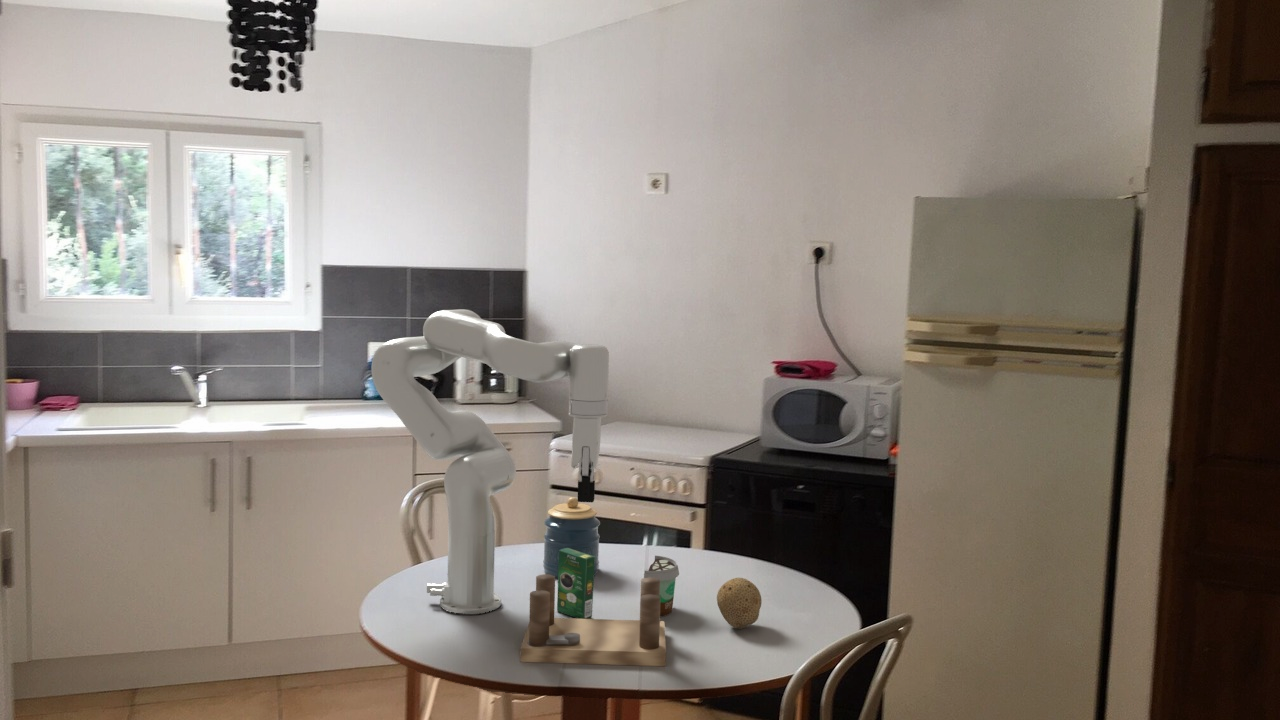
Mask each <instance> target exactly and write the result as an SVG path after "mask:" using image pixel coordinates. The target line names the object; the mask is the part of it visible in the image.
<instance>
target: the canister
mask: <svg viewBox="0 0 1280 720" xmlns="http://www.w3.org/2000/svg"><path fill="white" fill-rule="evenodd" d="M597 513H598V512H597V510H595V509H594V508H592V507H591V506H590V505H588V504H585V503H582V502H578V497H577V498H576V497H574V496H572V497H569V498H568V499H567V501H566V502H564V503H559V504H558V503H557V504H556V505H554V507H552V508H550V509H548V511H547V514H548V515H549V516H548V517H546V519H544V522H543V524H544V525H545V527H546V530H545V533H544V534H543V540H544V548H543V549H544V551H543V552H544V553H543V555H544V556H543V561H542V562H543V564H542V567H543V572H544V573H545V574H549V575H553V576H555V579H556V578H557V579H558V570H559V550H561V549H564V548H570V549H573V550H576V551H579V552H582V553H585V554H588V555H592V556H595V562H594V576H595V575H597V573H598V570H599V567H600V560H599V552H600V551H599V549H600V547H599V546H600V545H599V544H600V537H601V536H600V534H599V530H598V529H599V526H600V525H601V521H600V520H599V519H598V518H597V517H596V516H597Z"/></svg>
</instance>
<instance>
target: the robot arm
mask: <svg viewBox="0 0 1280 720" xmlns="http://www.w3.org/2000/svg"><path fill="white" fill-rule="evenodd" d="M422 333H423V336H422V335H421V336H410V337H409V336H408V337H400V338H395V339H390V340H388V341H386V342H384V343H382V344H381V345H379V347H378V348H377V349H376V350H375V352H374V355H373V357H372V360H371V368H370V369H371V379H372V381H373V385H374V387H375V389H376V391H377V393H378V395H379V396H380V397H381V399H382V400H383V401H384V402H385V403H386V404H387V406H388V407H389V408H390V409H391V410H392V411H393V413H395V415H396V416H397V417H398V418H399V419H400V420H401V421H400V422H402V424H403V425H404V426H405V428H406V429H407V430H408V432H409V433H410V435H411V436H412V437H413V438H414V439H415V441H416V442H417V444H418V445H419V446H420V447H421V449H422V450H423V451H424V452H425V454H426V455H428V456H429V458H432V459H433V460H436V461H444V460H449V459H453V458H454V459H455V458H457V457H458V458H457V459H455V460H452V462H451V463H450V464H449V466H448V467H447V468H446V471H445V473H444V477H443V478H444V479H443V486H444V493H445V497H446V503H447V533H448V534H447V581H446V582H442V584H438V583H427V585H426V593H428V594H429V596H432V597H436V596H438V597H439V596H441V598H440V599H439V607H440V606H441V607H442V608H444V609H445V610H448V611H451V612H455V613H454V614H456V613H463V614H462V615H480V614H479V613H481V614H485V612H486V613H489V611H490V612H493V611H495V610H497V609H498V608H500V607H501V605H502V597H501V596H500V595H499V594H497V593H496V592H495V546H496V545H495V541H496V540H495V537H496V534H495V533H496V530H495V529H496V528H495V527H496V525H495V524H496V520H495V519H496V517H495V513H494V510H493V505H492V502H491V496H493V495H495V494H498V493H501V492H503V491H505V490H507V489H509V488H510V487H511V486H512V485H513V484H514V481H515V479H516V476H517V466H516V463H515V461H514V459H513V457H512V456H511V454H510V452H509V451H508V449H507V448H506V447H505V446H504V445H503V443H502V442H501V441H500V439H499V438H498V437H497V435H496V434H495V433H494V432H493V431H492V430H491V428H490V427H489V426H488V424H486V422H485V420H483V419H482V417H480V416H479V415H477V414H476V413H474V412H473V411H472V412H471V411H469V410H456V411H448V409H446V408H445V407H444V406H443V405H442V404H441V403H440V402H439V400H438V399H437V398H436V396H435V395H434V394H433V393H432V392H431V391H430V390H429V389H428V388H427V387H426V386H424V385H423V384H421V383H420V382H418V380H416V379H415V378H417V377H423V376H424V377H425V376H430V375H435V374H436V373H439V372H441V371H443V370H445V369H446V368H447V367H449V366H450V365H452V364H453V363H455V362H456V361H458V360H460V359H461V358H465V359H468V360H472V361H475V362H479V363H481V364H484V365H485V364H486V365H487V366H489V368H492V369H493V370H494V371H496V372H498V373H500V374H504V375H505V376H506V375H507V376H510V377H513V378H515V379H520V380H524V381H528V382H532V383H545V382H551V381H557V380H563V379H569V381H568V383H569V384H568V386H569V390H568V416H569V417H571V418H573V423H572V424H573V425H572V437H571V438H572V439H571V440H572V442H571V444H572V445H571V464H570V466H571V468H572V469H576V467H578V481H577V500H578V503H594V502H595V496H596V495H595V493H596V492H595V489H596V482H595V481H596V480H595V469H596V468H597V466H598V461H599V458H600V457H599V456H600V450H601V449H600V448H601V431H602V419H603V418H606V417H608V407H609V406H608V405H609V403H608V402H609V401H608V400H609V399H608V398H609V370H610V369H609V367H610V365H609V362H610V352H609V349H608V347H606V346H605V345H600V344H592V343H591V344H590V343H589V344H587V343H586V344H585V343H583V344H578V343H574V342H570V341H566V340H557V341H545V342H539V343H538V342H532V341H529V340H524V339H521V338H516V337H513V336H511V335H508V334H506V331H505V328H504V326H503V325H502V324H500V323H497V322H494V321H490V320H487V319H482V318H481V316H480V315H479V314H477V313H476V312H474V311H472V310H471V309H464V308H463V309H460V308H459V309H442V310H439V311H435V312H433V313H432V314H431V315H430V316H428V317H427V318H426V320H425V321H424V324H423V327H422ZM578 465H579V466H578ZM441 607H440V608H441ZM442 608H441V609H442ZM445 610H444V611H445ZM492 610H493V611H492ZM451 612H450V613H451ZM464 613H466V614H464ZM476 613H478V614H476Z"/></svg>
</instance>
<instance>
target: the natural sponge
mask: <svg viewBox="0 0 1280 720" xmlns="http://www.w3.org/2000/svg"><path fill="white" fill-rule="evenodd" d="M716 601H717V606H718V609H719V611H720V613H721V616H722V617H723V619H724V620H725V621H726V622H727V624H728V625H729V626H731V627H732V628H735V629H737V630H738V629H740V630H741V629H744V628H746V627H748V626H751V625H753V624H754V623H756V622H757V620H758V619H759V617H760V612H761V611H760V609H761V607H762V595H761V592H760V590H759V588H758V587H757V586H756V585H755V583H753V582H752V581H750V580H748V579H746V578H743V577H733V578H731V579H729V580H727V581H726V582H724V584H722V585H721V586H720V587H719V589H718V591H717V594H716Z"/></svg>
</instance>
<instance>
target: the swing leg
mask: <svg viewBox="0 0 1280 720" xmlns="http://www.w3.org/2000/svg"><path fill="white" fill-rule="evenodd" d="M549 618H550V593H549V592H548V591H543V590H537V591H536V590H532V591H530V593H529V619H528V620H529V621H528V624H529V643H530V644H531V645H535V646H542V645H546V644H569V645H576V644H579V643H580V634H578V633H567V634H565V635H549Z"/></svg>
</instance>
